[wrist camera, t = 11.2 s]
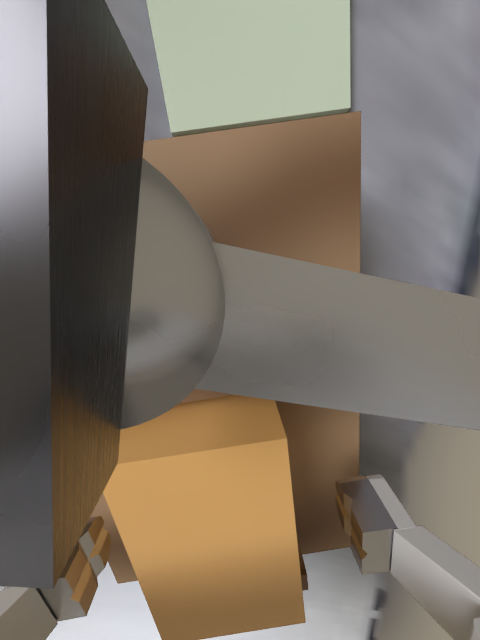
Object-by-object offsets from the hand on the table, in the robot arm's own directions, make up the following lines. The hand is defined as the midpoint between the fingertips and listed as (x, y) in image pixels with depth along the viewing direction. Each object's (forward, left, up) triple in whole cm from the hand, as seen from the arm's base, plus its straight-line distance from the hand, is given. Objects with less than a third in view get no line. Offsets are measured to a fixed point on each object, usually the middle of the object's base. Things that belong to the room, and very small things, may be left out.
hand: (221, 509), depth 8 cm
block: (0, 0, -2) cm, 2 cm away
